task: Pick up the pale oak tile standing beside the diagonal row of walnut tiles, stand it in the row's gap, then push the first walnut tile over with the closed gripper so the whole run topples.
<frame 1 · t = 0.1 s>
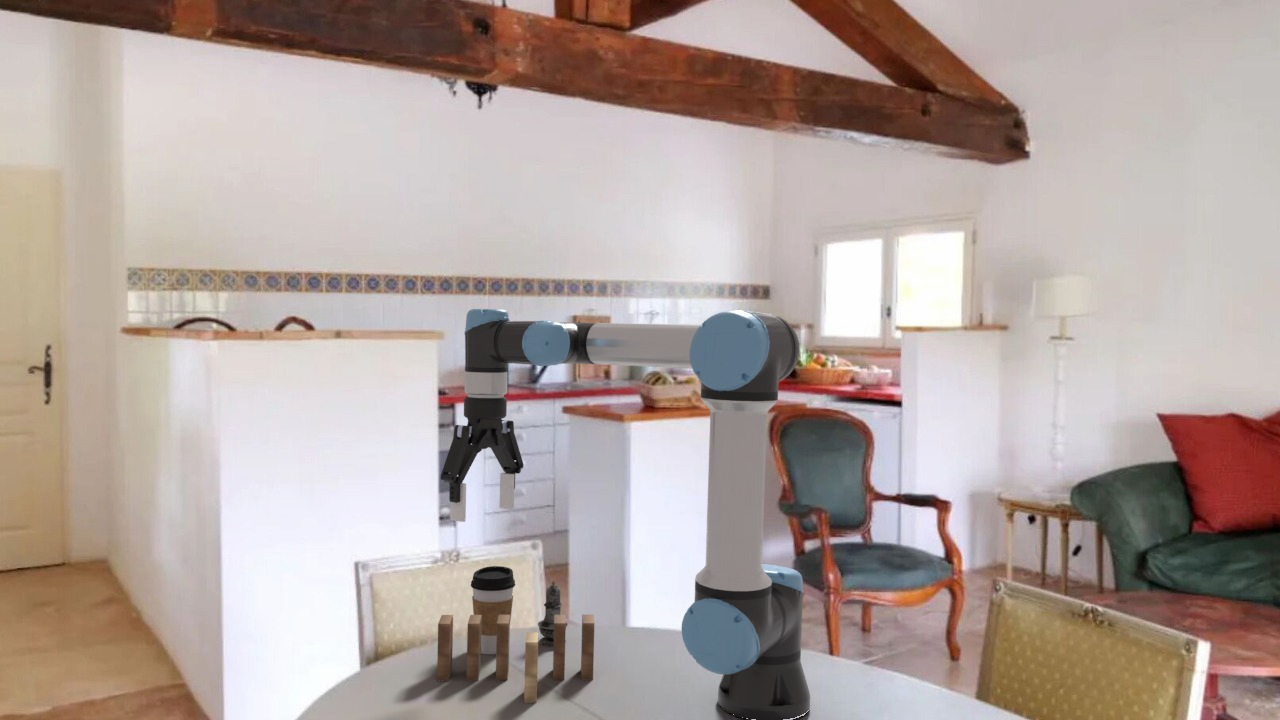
hand: (483, 514, 168), 28 cm above the table, tool pointing down, fingers open, 13 cm apart
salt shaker: (552, 642, 184), on the table
oak domino: (530, 696, 157), on the table
coffee cup: (491, 650, 179), on the table
domino 6: (444, 675, 165), on the table
domino 4: (502, 675, 166), on the table
domino 5: (473, 675, 166), on the table
domino 1: (586, 674, 167), on the table
domino 2: (558, 674, 167), on the table
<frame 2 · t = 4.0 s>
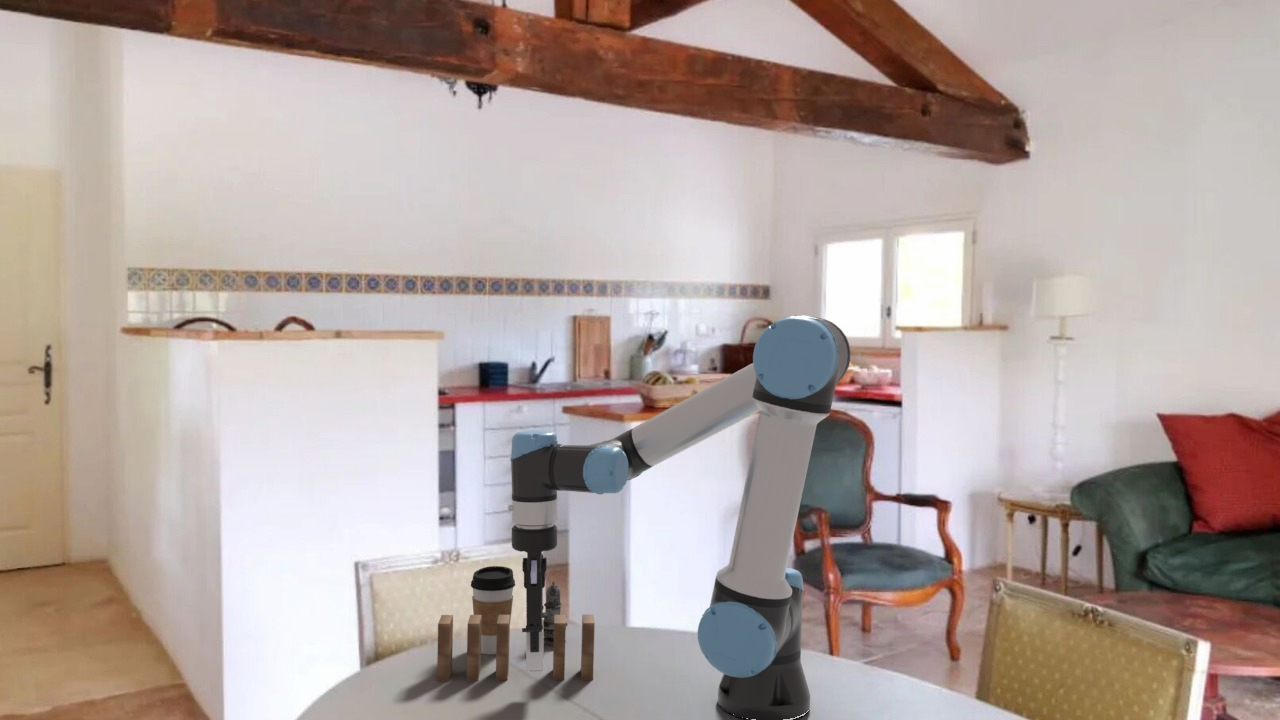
hand: (535, 663, 156), 6 cm above the table, tool pointing down, fingers closed on oak domino, 5 cm apart
oak domino: (536, 666, 156), point 5 cm above the table, touching gripper
everything else where it was.
when the fingers open (1 cm above the table, at t = 8.2 s): oak domino stays where it is, on the table.
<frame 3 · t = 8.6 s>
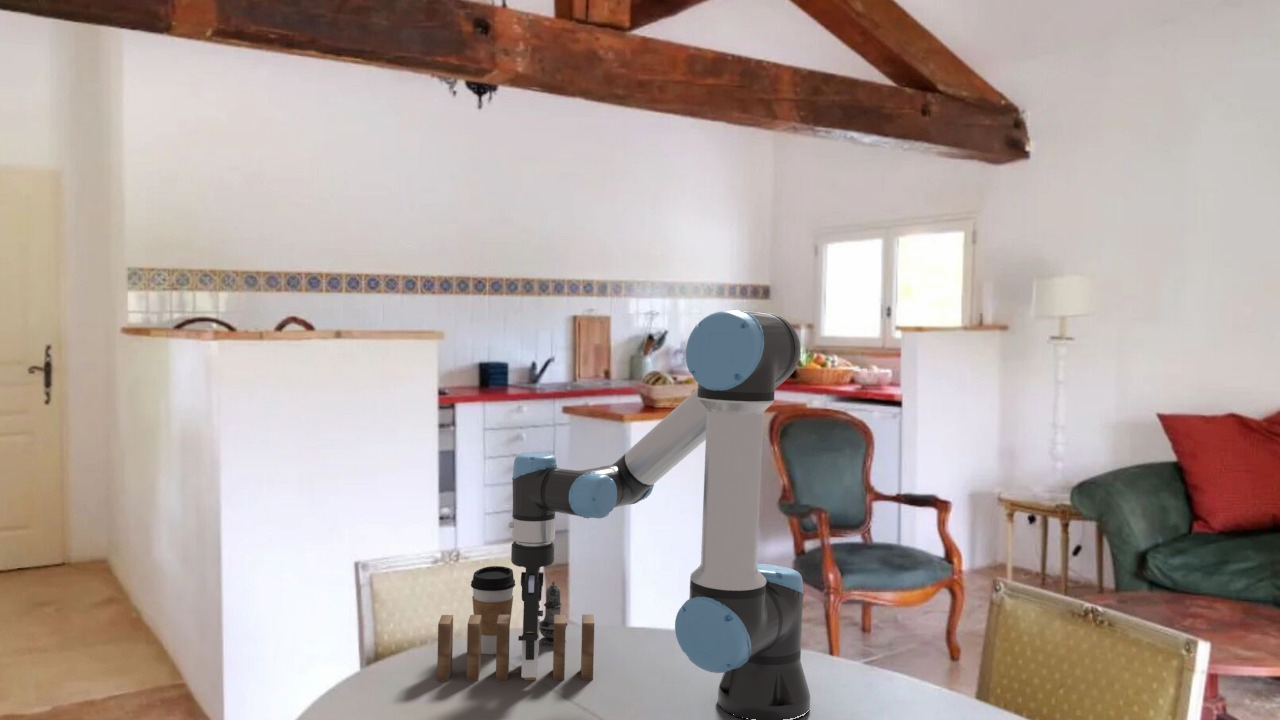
hand: (530, 664, 166), 2 cm above the table, tool pointing down, fingers open, 11 cm apart
oak domino: (530, 674, 167), on the table
everything else where it was.
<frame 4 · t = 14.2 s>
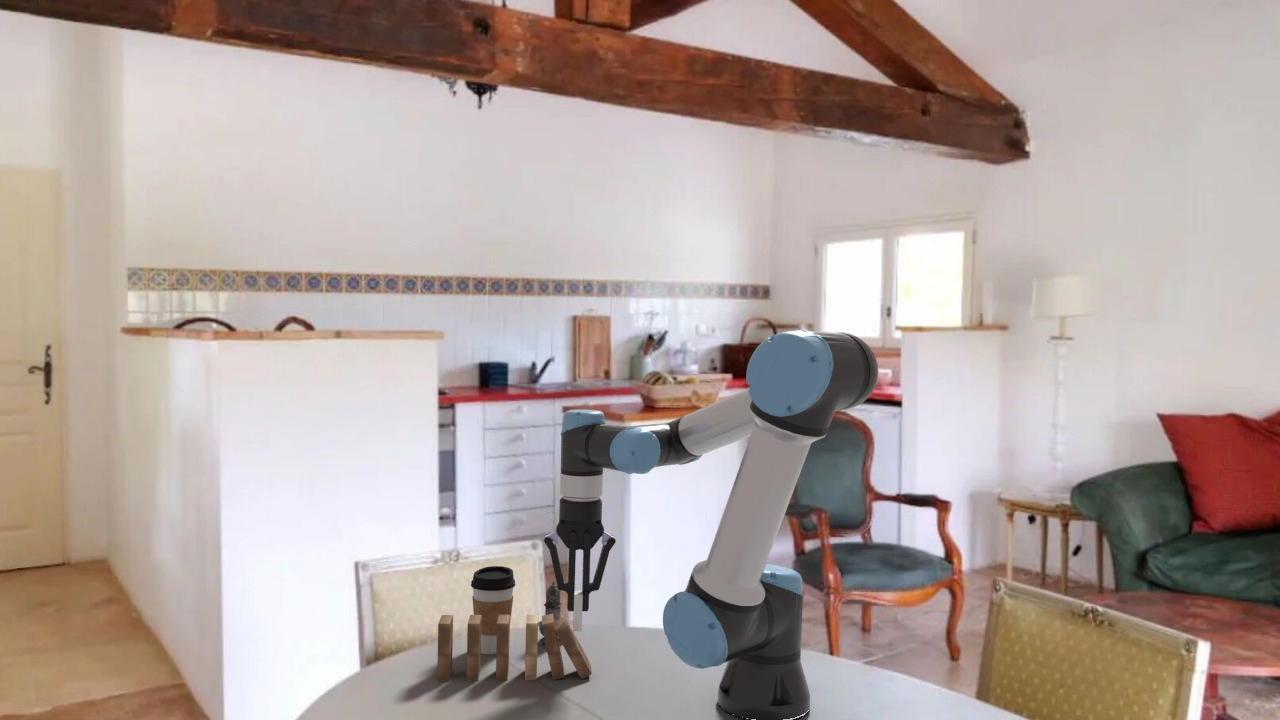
hand: (577, 628, 167), 8 cm above the table, tool pointing down, fingers closed
domino 1: (586, 671, 167), on the table, tilted 29°
domino 2: (558, 673, 167), on the table, tilted 13°
everything else where it was.
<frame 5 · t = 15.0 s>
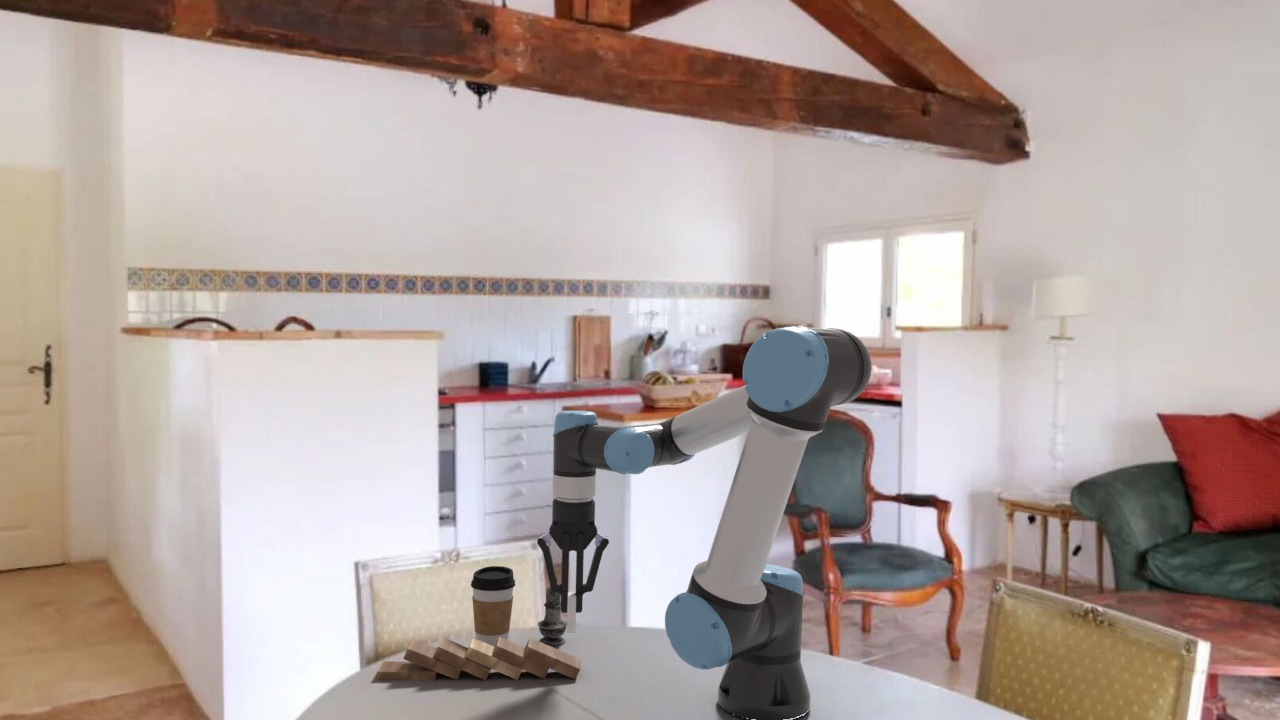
hand: (570, 630, 167), 8 cm above the table, tool pointing down, fingers closed
oak domino: (520, 669, 166), point 1 cm above the table, tilted 66°, touching domino 2, domino 4
domino 6: (437, 672, 165), on the table, tilted 90°, touching domino 5
domino 4: (489, 670, 166), point 1 cm above the table, tilted 66°, touching domino 5, oak domino
domino 5: (461, 669, 166), point 1 cm above the table, tilted 70°, touching domino 4, domino 6
domino 1: (578, 669, 167), point 1 cm above the table, tilted 67°, touching domino 2
domino 2: (547, 668, 167), point 1 cm above the table, tilted 66°, touching domino 1, oak domino
everything else where it was.
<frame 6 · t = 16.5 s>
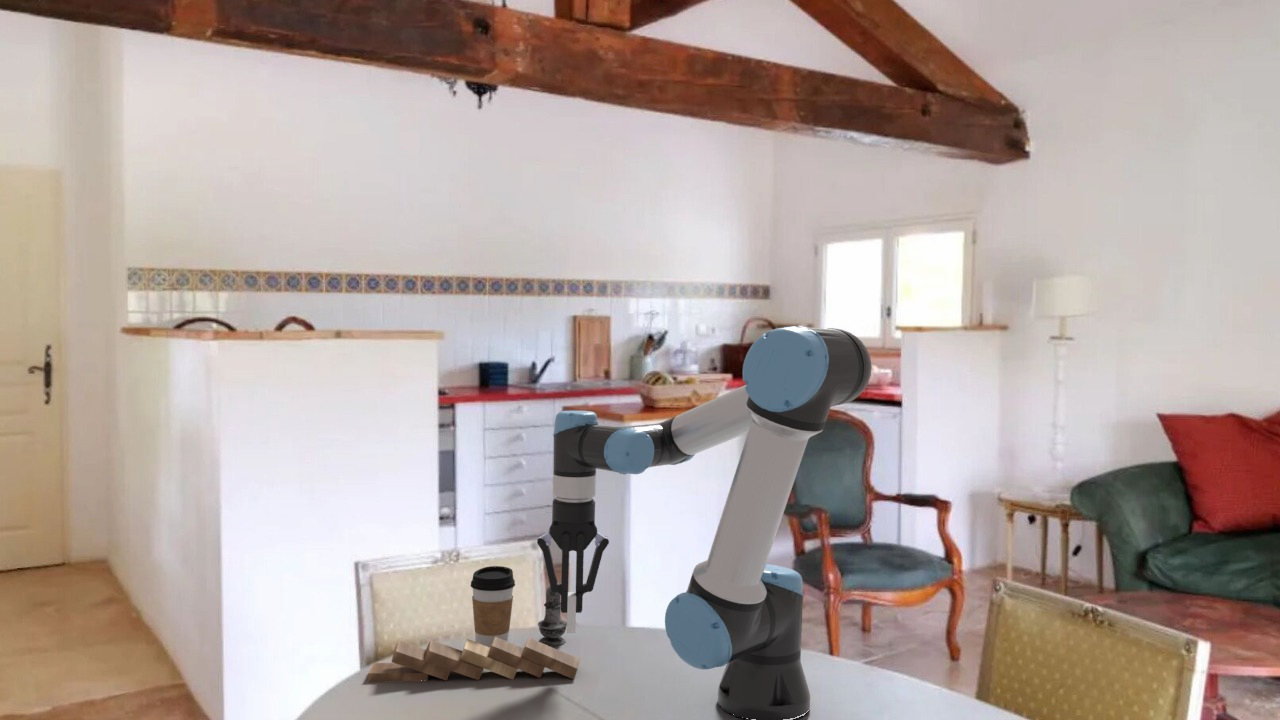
hand: (570, 630, 167), 8 cm above the table, tool pointing down, fingers closed
domino 6: (429, 673, 165), on the table, tilted 90°
domino 4: (480, 669, 166), point 1 cm above the table, tilted 68°, touching domino 5, oak domino
domino 5: (449, 669, 165), point 1 cm above the table, tilted 69°, touching domino 4
domino 1: (576, 669, 167), point 1 cm above the table, tilted 68°
domino 2: (543, 667, 167), point 1 cm above the table, tilted 68°, touching oak domino
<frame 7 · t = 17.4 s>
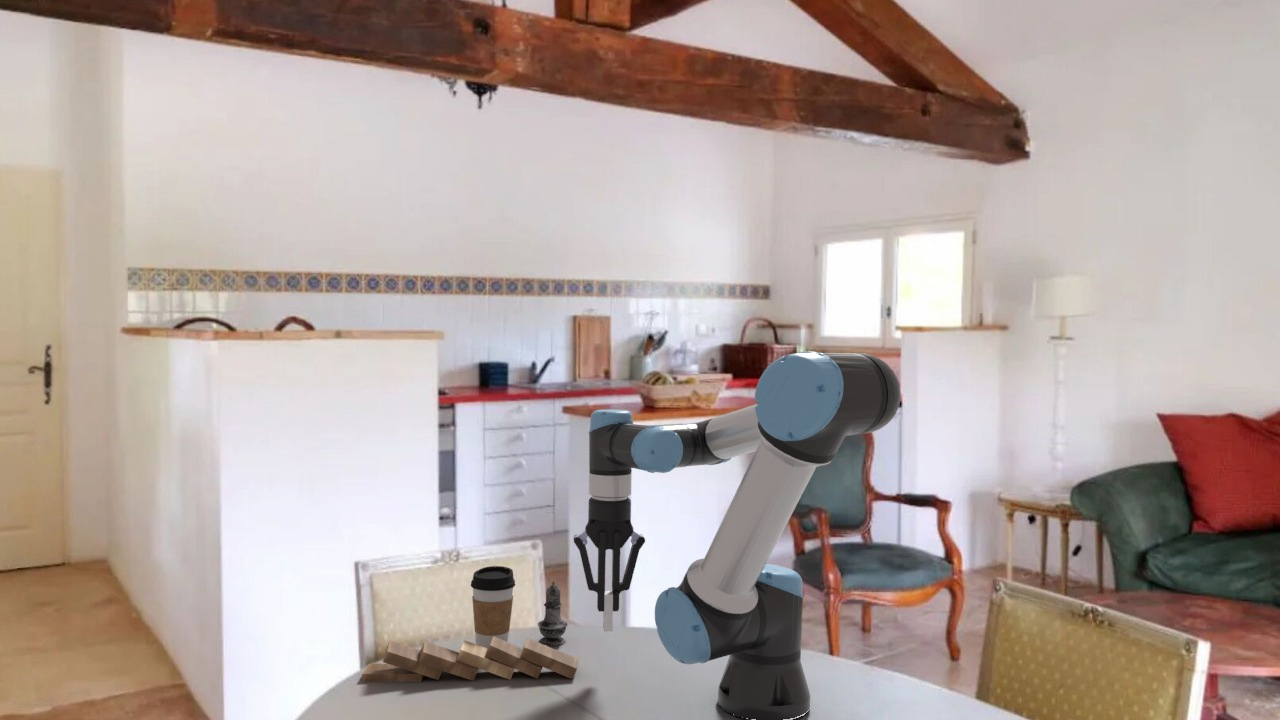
hand: (607, 628, 167), 8 cm above the table, tool pointing down, fingers closed
domino 4: (475, 669, 165), point 1 cm above the table, tilted 69°, touching domino 5, oak domino
domino 5: (441, 668, 165), point 1 cm above the table, tilted 69°, touching domino 4
domino 1: (575, 669, 167), point 1 cm above the table, tilted 69°, touching domino 2
domino 2: (540, 668, 167), point 1 cm above the table, tilted 66°, touching domino 1, oak domino
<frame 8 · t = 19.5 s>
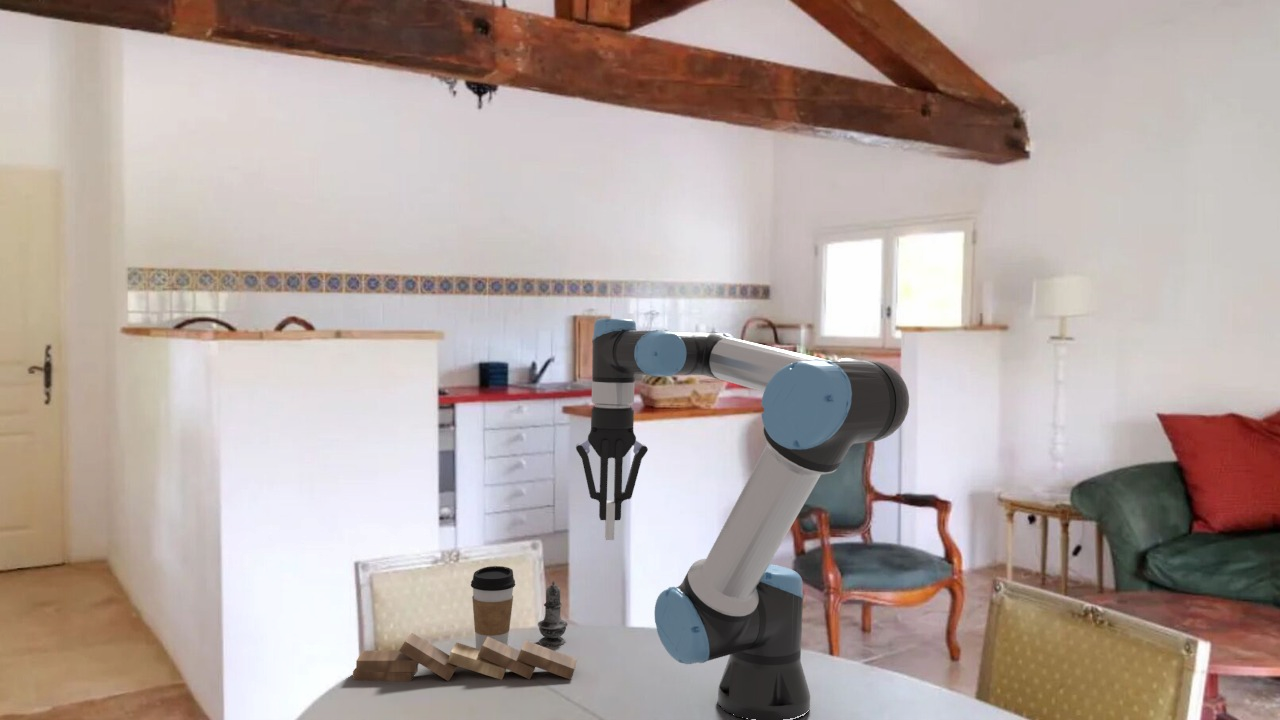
hand: (609, 538, 167), 24 cm above the table, tool pointing down, fingers closed
oak domino: (505, 669, 166), point 1 cm above the table, tilted 74°, touching domino 2, domino 4
domino 6: (414, 673, 165), on the table, tilted 90°
domino 4: (454, 671, 165), point 1 cm above the table, tilted 60°, touching oak domino
domino 5: (417, 661, 165), point 2 cm above the table, tilted 90°
domino 2: (533, 669, 167), point 1 cm above the table, tilted 67°, touching domino 1, oak domino
everything else where it was.
at the end: domino 6 tilted 90°; oak domino tilted 74°; oak domino inside the target area (3.8 cm from its centre), point 0.9 cm above the table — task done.
